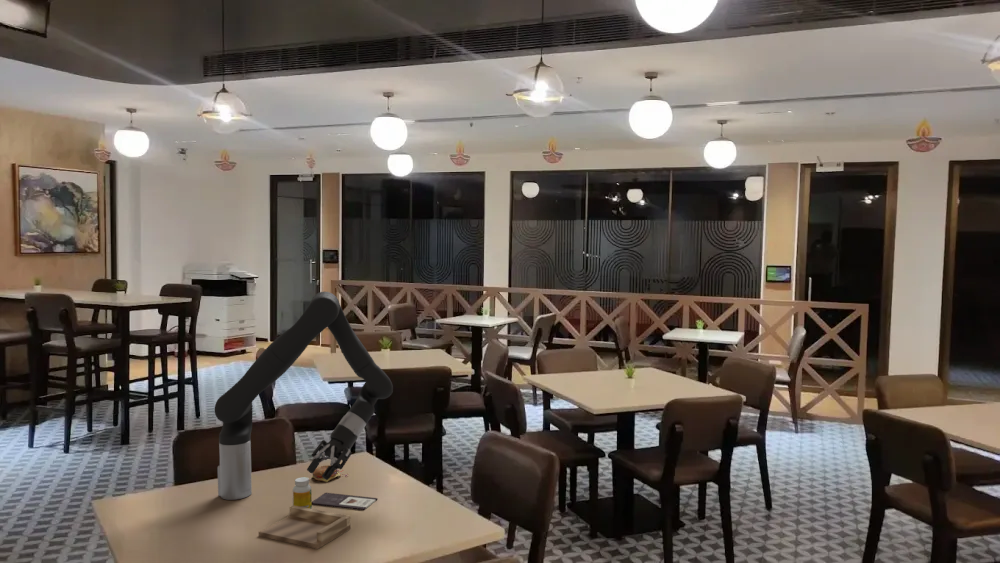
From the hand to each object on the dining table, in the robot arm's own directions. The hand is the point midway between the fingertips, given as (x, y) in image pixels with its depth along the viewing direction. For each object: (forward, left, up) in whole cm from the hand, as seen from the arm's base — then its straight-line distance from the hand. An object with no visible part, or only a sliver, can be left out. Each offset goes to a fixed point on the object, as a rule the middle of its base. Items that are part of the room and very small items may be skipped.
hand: (316, 475), depth 212 cm
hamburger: (-13, +23, -10) cm, 29 cm away
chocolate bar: (+5, +6, -10) cm, 13 cm away
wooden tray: (+9, -17, -10) cm, 21 cm away
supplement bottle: (-2, -5, -10) cm, 11 cm away
